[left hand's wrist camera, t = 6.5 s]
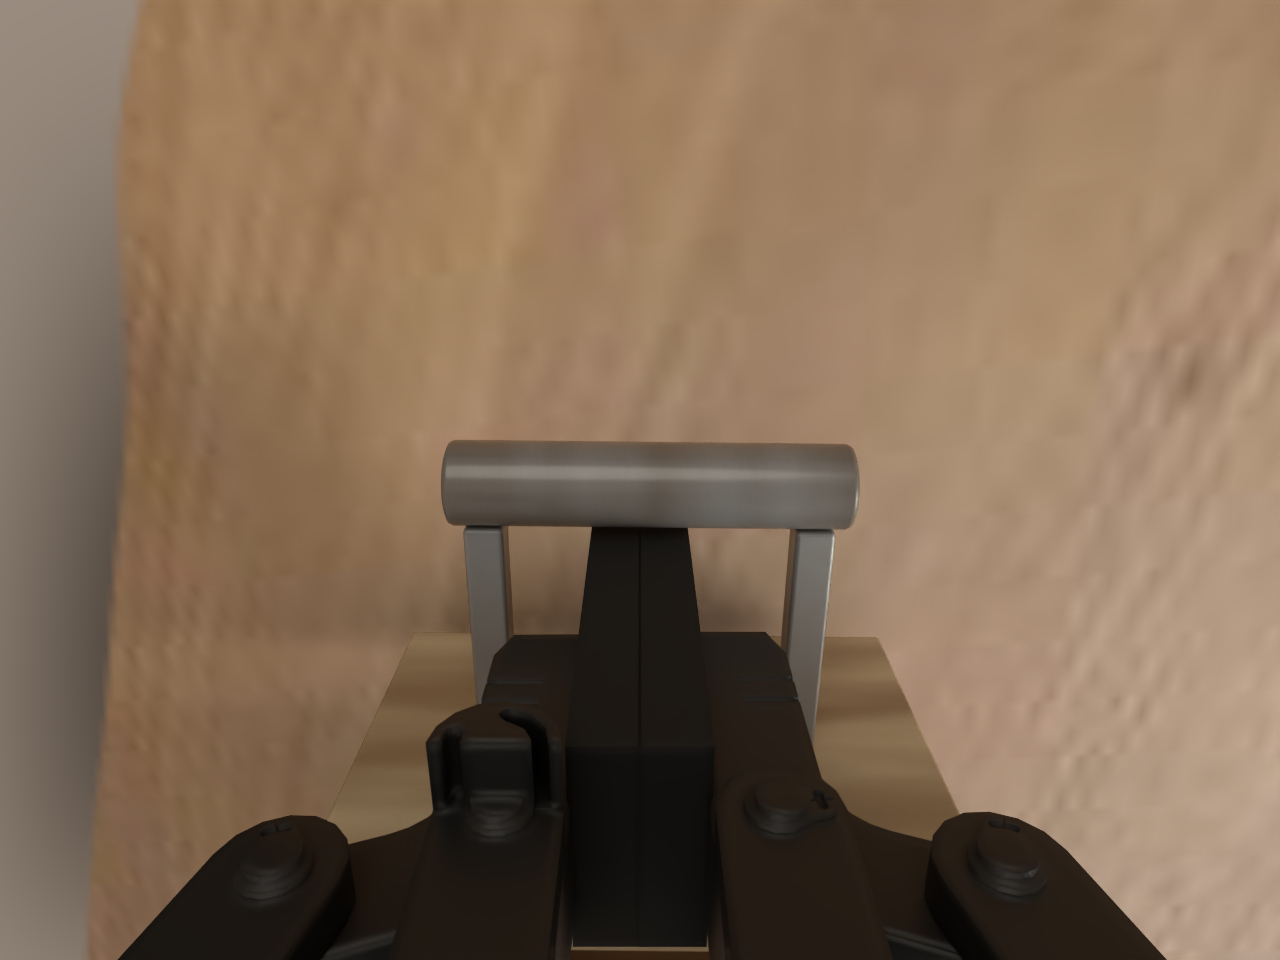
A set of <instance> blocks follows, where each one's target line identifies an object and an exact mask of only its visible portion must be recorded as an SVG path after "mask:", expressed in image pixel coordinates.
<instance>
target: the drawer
mask: <svg viewBox="0 0 1280 960" xmlns="http://www.w3.org/2000/svg"><path fill="white" fill-rule="evenodd" d="M859 492H860V480H859V468H858V462H857V458H856V455H855V452H854V450H853V448H852V447H851V446H849V445H847V444H792V443H696V442H600V441H504V440H454V441H451V442H450V443H449V444H448V446H447V448H446V451H445V454H444V458H443V463H442V472H441V497H442V505H443V510H444V514H445V517H446V519H447V521H448V523H450V524H452V525H461V526H466V527H465V529H464V532H463V535H464V549H465V562H466V575H467V588H468V601H469V615H470V628H471V633H414V634H413V635H412V637H411V640H410V642H409V644H408V646H407V648H406V650H405V653H404V655H403V657H402V659H401V661H400V663H399V666H398V668H397V670H396V672H395V674H394V676H393V679H392V681H391V683H390V685H389V687H388V689H387V691H386V694H385V696H384V698H383V700H382V702H381V704H380V707H379V709H378V711H377V713H376V715H375V717H374V720H373V722H372V724H371V726H370V728H369V730H368V732H367V735H366V737H365V739H364V741H363V743H362V745H361V748H360V750H359V752H358V754H357V756H356V758H355V761H354V763H353V765H352V767H351V769H350V771H349V774H348V776H347V778H346V780H345V782H344V784H343V786H342V789H341V791H340V793H339V795H338V797H337V799H336V802H335V804H334V806H333V808H332V810H331V812H330V815H329V817H328V819H327V821H329V822H332V823H334V824H336V825H337V826H338V828H339V829H340V830H341V831H342V833H343V834H344V835H345V836H346V838H347V839H348V844H351V843H355V842H359V841H363V840H367V839H371V838H375V837H379V836H383V835H387V834H390V833H393V832H396V831H399V830H402V829H405V828H408V827H410V826H412V825H414V824H416V823H418V822H420V821H422V820H423V819H425V818H427V817H428V816H430V815H431V814H432V811H433V805H432V796H431V787H430V779H429V770H428V761H427V752H426V744H425V743H426V741H427V739H428V738H429V736H430V735H431V733H432V732H433V730H434V729H435V727H436V726H437V725H438V724H440V723H441V722H443V721H444V720H445V719H447V718H448V717H450V716H451V715H452V714H454V713H455V712H458V711H461V710H464V709H466V708H469V707H472V706H474V705H477V704H481V699H482V695H483V692H484V688H485V685H486V684H487V678H488V674H489V671H490V667H491V663H492V660H493V656H494V655H495V654H496V653H497V652H498V651H499V650H500V649H501V648H502V647H503V646H504V645H505V644H506V643H507V642H508V641H509V640H510V639H511V638H512V637H513V636H514V635H579V634H514V630H513V612H512V593H511V575H510V556H509V537H508V526H556V527H651V528H746V529H790V539H789V551H788V563H787V575H786V587H785V599H784V611H783V623H782V635H781V636H770V637H771V638H772V639H773V640H774V641H775V642H776V643H777V644H778V645H779V646H780V647H781V648H782V649H783V650H784V651H785V652H786V655H787V658H788V662H789V665H790V669H791V672H792V676H793V681H794V683H795V686H796V690H797V693H798V700H799V702H800V704H801V707H802V711H803V714H804V718H805V721H806V725H807V728H808V732H809V735H810V739H811V742H812V746H813V749H814V753H815V756H816V760H817V763H818V767H819V770H820V774H821V777H822V779H823V780H824V781H825V782H826V783H828V784H829V785H830V786H831V787H833V788H834V789H835V790H836V791H837V792H838V794H839V796H840V797H841V799H842V801H843V802H844V804H845V806H846V808H847V810H848V811H849V812H850V813H852V814H853V815H855V816H857V817H859V818H861V819H862V820H864V821H866V822H868V823H870V824H872V825H875V826H878V827H881V828H884V829H887V830H890V831H894V832H898V833H902V834H906V835H910V836H914V837H918V838H922V839H926V840H930V841H932V837H933V834H934V833H935V832H936V831H937V829H938V828H939V827H940V826H941V824H942V823H943V822H944V821H945V820H947V819H950V818H952V817H955V816H957V815H960V814H959V812H958V810H957V807H956V805H955V803H954V801H953V799H952V797H951V794H950V792H949V790H948V788H947V786H946V784H945V781H944V779H943V777H942V775H941V773H940V771H939V769H938V766H937V764H936V762H935V760H934V758H933V756H932V753H931V751H930V749H929V747H928V745H927V743H926V740H925V738H924V736H923V734H922V732H921V730H920V727H919V725H918V723H917V721H916V719H915V717H914V714H913V712H912V710H911V708H910V706H909V704H908V702H907V699H906V697H905V695H904V693H903V691H902V689H901V686H900V684H899V682H898V680H897V678H896V676H895V673H894V671H893V669H892V667H891V665H890V663H889V660H888V658H887V656H886V654H885V652H884V650H883V647H882V645H881V643H880V641H879V639H878V638H876V637H825V631H826V621H827V612H828V602H829V593H830V583H831V574H832V564H833V555H834V545H835V534H834V531H833V529H840V530H844V529H848V528H850V527H851V526H852V525H853V523H854V520H855V517H856V514H857V510H858V503H859ZM571 960H710V958H709V948H708V936H707V947H573V937H572V948H571Z"/></svg>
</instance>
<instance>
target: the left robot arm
mask: <svg viewBox="0 0 1280 960" xmlns="http://www.w3.org/2000/svg"><path fill="white" fill-rule="evenodd" d="M425 744H426V752H427V761H428V770H429V779H430V787H431V796H432V805H433V811H432V814H431V815H430V816H428V817H427V818H425V819H423V820H422V821H420V822H418V823H416V824H414V825H412V826H410V827H408V828H405V829H402V830H399V831H396V832H393V833H390V834H387V835H383V836H379V837H375V838H371V839H367V840H363V841H359V842H355V843H351V844H348V839H347V838H346V836H345V835H344V834H343V833H342V831H341V830H340V829H339V828H338V826H337V825H336V824H334V823H332V822H329V821H327V820H324V819H322V818H319V817H317V816H294V815H290V816H286V817H282V818H278V819H273V820H269V821H265V822H262V823H260V824H258V825H256V826H254V827H252V828H250V829H248V830H246V831H244V832H242V833H240V834H238V835H236V836H235V837H233V838H232V839H231V840H230V841H229V842H227V843H226V844H225V845H224V846H223V847H221V848H220V849H219V850H218V851H217V852H215V853H214V854H213V855H212V856H211V858H210V859H209V860H208V861H207V862H206V863H205V864H204V865H203V866H202V867H201V869H200V870H199V871H198V872H197V873H196V874H195V875H194V876H193V877H192V878H191V880H190V881H189V882H188V883H187V884H186V885H185V886H184V887H183V888H182V889H181V891H180V892H179V893H178V894H177V895H176V896H175V897H174V898H173V899H172V900H171V902H170V903H169V904H168V905H167V906H166V907H165V908H164V909H163V910H162V911H161V913H160V914H159V915H158V916H157V917H156V918H155V919H154V920H153V921H152V922H151V924H150V925H149V926H148V927H147V928H146V929H145V930H144V931H143V932H142V933H141V935H140V936H139V937H138V938H137V939H136V940H135V941H134V942H133V943H132V944H131V946H130V947H129V948H128V949H127V950H126V951H125V952H124V953H123V954H122V955H121V957H120V958H119V959H118V960H571V948H572V937H573V947H707V936H708V948H709V958H710V960H1166V958H1165V957H1164V956H1163V955H1162V954H1161V953H1160V952H1159V951H1158V950H1157V949H1156V947H1155V946H1154V945H1153V944H1152V943H1151V942H1150V941H1149V940H1148V939H1147V938H1146V937H1145V935H1144V934H1143V933H1142V932H1141V931H1140V930H1139V929H1138V928H1137V927H1136V926H1135V925H1134V923H1133V922H1132V921H1131V920H1130V919H1129V918H1128V917H1127V916H1126V915H1125V914H1124V912H1123V911H1122V910H1121V909H1120V908H1119V907H1118V906H1117V905H1116V904H1115V903H1114V902H1113V900H1112V899H1111V898H1110V897H1109V896H1108V895H1107V894H1106V893H1105V892H1104V891H1103V890H1102V888H1101V887H1100V886H1099V885H1098V884H1097V883H1096V882H1095V881H1094V880H1093V879H1092V877H1091V876H1090V875H1089V874H1088V873H1087V872H1086V871H1085V870H1084V869H1083V868H1082V867H1081V865H1080V864H1079V863H1078V862H1077V861H1076V860H1075V859H1074V858H1073V857H1072V856H1071V855H1070V853H1069V852H1068V851H1067V850H1066V849H1064V848H1063V847H1062V846H1061V845H1060V844H1058V843H1057V842H1056V841H1055V840H1054V839H1052V838H1051V837H1050V836H1049V835H1048V834H1046V833H1045V832H1044V831H1042V830H1040V829H1038V828H1036V827H1034V826H1032V825H1030V824H1028V823H1026V822H1024V821H1022V820H1020V819H1017V818H1013V817H1009V816H1005V815H1001V814H996V813H992V812H971V813H962V814H960V815H957V816H955V817H952V818H950V819H947V820H945V821H944V822H943V823H942V824H941V826H940V827H939V828H938V829H937V831H936V832H935V833H934V834H933V837H932V841H930V840H926V839H922V838H918V837H914V836H910V835H906V834H902V833H898V832H894V831H890V830H887V829H884V828H881V827H878V826H875V825H872V824H870V823H868V822H866V821H864V820H862V819H861V818H859V817H857V816H855V815H853V814H852V813H850V812H849V811H848V810H847V808H846V806H845V804H844V802H843V801H842V799H841V797H840V796H839V794H838V792H837V791H836V790H835V789H834V788H833V787H831V786H830V785H829V784H828V783H826V782H825V781H824V780H823V779H822V777H821V774H820V770H819V767H818V763H817V760H816V756H815V753H814V749H813V746H812V742H811V739H810V735H809V732H808V728H807V725H806V721H805V718H804V714H803V711H802V707H801V704H800V702H799V700H798V693H797V690H796V686H795V683H794V681H793V676H792V672H791V669H790V665H789V662H788V658H787V655H786V652H785V651H784V650H783V649H782V648H781V647H780V646H779V645H778V644H777V643H776V642H775V641H774V640H773V639H772V638H771V637H770V636H769V635H768V634H767V633H766V632H700V624H699V616H698V608H697V600H696V592H695V584H694V576H693V568H692V560H691V552H690V544H689V536H688V528H651V527H592V531H591V539H590V548H589V556H588V564H587V572H586V580H585V588H584V596H583V604H582V612H581V621H580V629H579V635H514V636H513V637H512V638H511V639H510V640H509V641H508V642H507V643H506V644H505V645H504V646H503V647H502V648H501V649H500V650H499V651H498V652H497V653H496V654H495V655H494V656H493V660H492V663H491V667H490V671H489V674H488V678H487V684H486V685H485V688H484V692H483V695H482V699H481V704H477V705H474V706H472V707H469V708H466V709H464V710H461V711H458V712H455V713H454V714H452V715H451V716H450V717H448V718H447V719H445V720H444V721H443V722H441V723H440V724H438V725H437V726H436V727H435V729H434V730H433V732H432V733H431V735H430V736H429V738H428V739H427V741H426V743H425Z"/></svg>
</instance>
